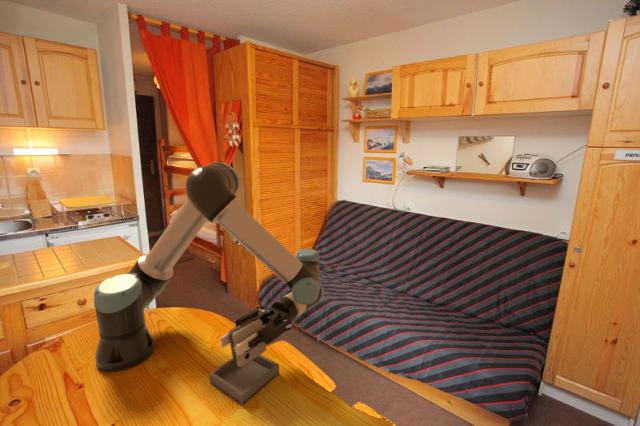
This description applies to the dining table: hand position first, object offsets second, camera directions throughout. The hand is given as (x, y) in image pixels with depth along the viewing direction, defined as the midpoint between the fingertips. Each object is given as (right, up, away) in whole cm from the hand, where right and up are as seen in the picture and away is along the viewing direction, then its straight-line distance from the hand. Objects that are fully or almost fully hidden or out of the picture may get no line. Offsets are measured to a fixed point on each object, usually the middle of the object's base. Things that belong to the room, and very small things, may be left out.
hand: (229, 346), depth 83 cm
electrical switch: (+3, -5, +6) cm, 8 cm away
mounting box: (+2, -12, +7) cm, 14 cm away
